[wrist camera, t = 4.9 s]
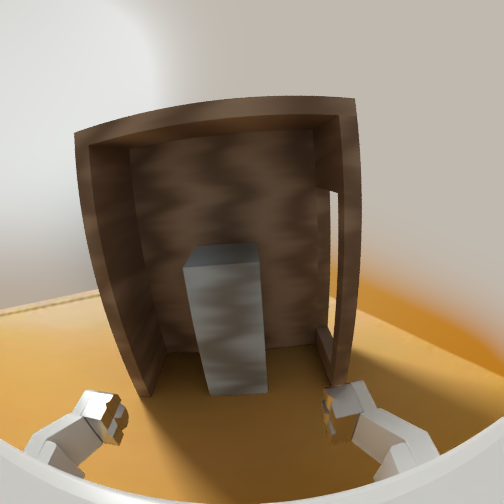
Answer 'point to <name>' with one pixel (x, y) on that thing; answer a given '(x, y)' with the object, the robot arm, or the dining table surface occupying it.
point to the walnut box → (224, 219)
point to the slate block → (228, 317)
